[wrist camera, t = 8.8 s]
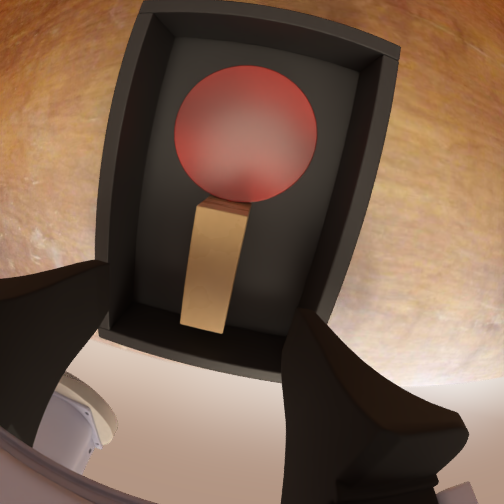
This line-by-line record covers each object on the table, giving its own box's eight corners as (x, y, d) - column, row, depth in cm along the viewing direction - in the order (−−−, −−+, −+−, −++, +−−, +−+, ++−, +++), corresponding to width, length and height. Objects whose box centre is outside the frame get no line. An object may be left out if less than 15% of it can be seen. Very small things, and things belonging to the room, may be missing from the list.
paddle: (269, 311, 17) (270, 344, 14) (155, 285, 17) (135, 312, 14) (327, 86, 13) (342, 70, 10) (194, 61, 12) (177, 41, 9)
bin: (295, 344, 18) (300, 386, 15) (125, 304, 18) (98, 337, 14) (372, 67, 12) (401, 46, 9) (168, 28, 12) (143, 0, 8)
